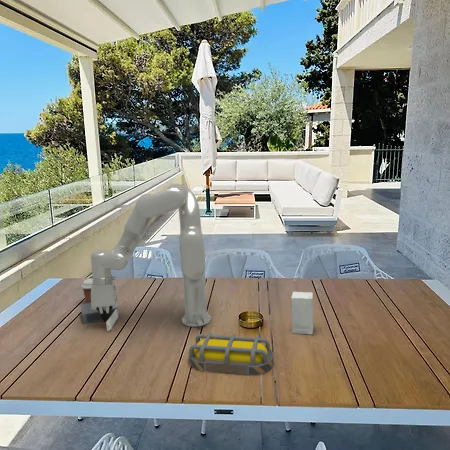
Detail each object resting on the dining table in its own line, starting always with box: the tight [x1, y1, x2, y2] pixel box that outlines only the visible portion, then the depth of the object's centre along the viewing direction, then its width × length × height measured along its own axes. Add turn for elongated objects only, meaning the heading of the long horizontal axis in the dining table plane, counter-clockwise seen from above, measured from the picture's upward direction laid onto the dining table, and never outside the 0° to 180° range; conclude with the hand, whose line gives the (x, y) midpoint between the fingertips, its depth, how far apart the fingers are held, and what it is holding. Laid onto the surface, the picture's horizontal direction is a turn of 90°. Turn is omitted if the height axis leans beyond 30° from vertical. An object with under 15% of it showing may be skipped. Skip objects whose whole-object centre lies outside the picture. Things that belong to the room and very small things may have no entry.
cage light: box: [188, 332, 274, 376], centre depth 140 cm, size 15×8×30 cm
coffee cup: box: [80, 277, 93, 304], centre depth 194 cm, size 9×9×12 cm
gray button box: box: [80, 302, 119, 325], centre depth 182 cm, size 14×15×5 cm
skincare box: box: [290, 291, 315, 335], centre depth 158 cm, size 8×7×16 cm
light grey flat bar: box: [105, 308, 120, 332], centre depth 172 cm, size 2×13×4 cm, turn 177°
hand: (105, 320), depth 169 cm, fingers closed
